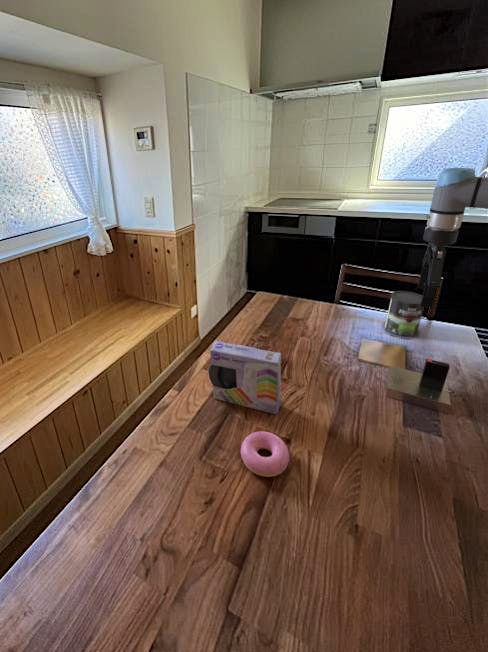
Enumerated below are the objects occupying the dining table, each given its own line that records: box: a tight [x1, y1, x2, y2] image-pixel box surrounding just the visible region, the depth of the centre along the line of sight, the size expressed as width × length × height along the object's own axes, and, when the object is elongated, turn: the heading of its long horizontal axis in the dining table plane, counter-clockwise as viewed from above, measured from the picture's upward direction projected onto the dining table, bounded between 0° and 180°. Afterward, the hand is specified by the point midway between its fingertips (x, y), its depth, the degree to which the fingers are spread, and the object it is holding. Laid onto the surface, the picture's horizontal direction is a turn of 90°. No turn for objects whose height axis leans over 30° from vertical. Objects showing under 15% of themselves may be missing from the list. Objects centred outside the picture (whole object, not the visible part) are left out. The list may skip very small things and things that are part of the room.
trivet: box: [357, 337, 406, 369], centre depth 110 cm, size 13×13×1 cm
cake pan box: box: [208, 340, 282, 415], centre depth 91 cm, size 19×5×18 cm, turn 65°
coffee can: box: [384, 290, 425, 340], centre depth 119 cm, size 10×10×14 cm
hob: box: [385, 366, 452, 415], centre depth 93 cm, size 15×11×3 cm
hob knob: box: [420, 358, 451, 391], centre depth 90 cm, size 5×2×8 cm, turn 60°
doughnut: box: [240, 430, 290, 478], centre depth 77 cm, size 11×11×4 cm
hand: (424, 296), depth 101 cm, fingers open, 13 cm apart
